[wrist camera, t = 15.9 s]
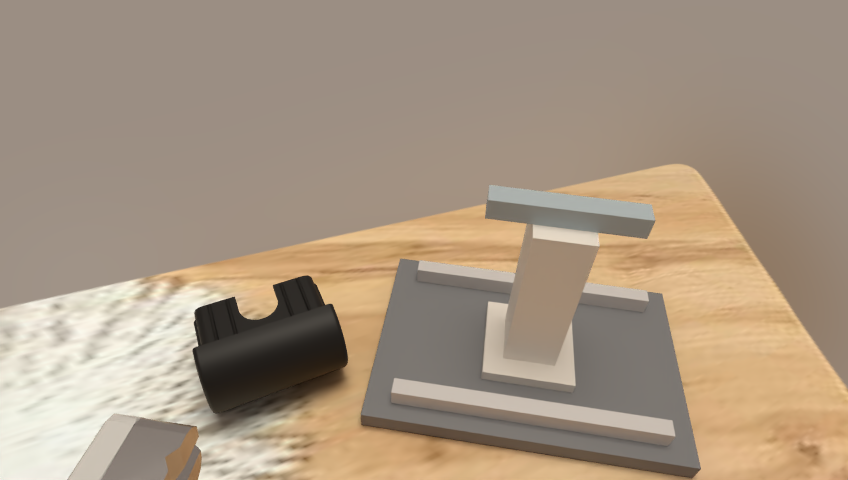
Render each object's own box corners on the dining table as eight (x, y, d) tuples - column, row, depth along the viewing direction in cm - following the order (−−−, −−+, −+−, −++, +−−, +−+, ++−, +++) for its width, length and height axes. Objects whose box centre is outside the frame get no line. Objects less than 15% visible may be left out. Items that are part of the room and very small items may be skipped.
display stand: (592, 395, 41) (662, 253, 30) (461, 376, 42) (484, 230, 31) (586, 322, 46) (645, 177, 35) (469, 306, 47) (492, 159, 36)
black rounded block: (222, 434, 39) (198, 385, 35) (205, 358, 44) (182, 305, 39) (351, 384, 43) (346, 333, 38) (324, 318, 47) (316, 266, 42)
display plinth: (361, 424, 40) (359, 404, 38) (400, 269, 52) (400, 247, 49) (692, 477, 38) (709, 459, 36) (656, 304, 50) (667, 282, 48)
